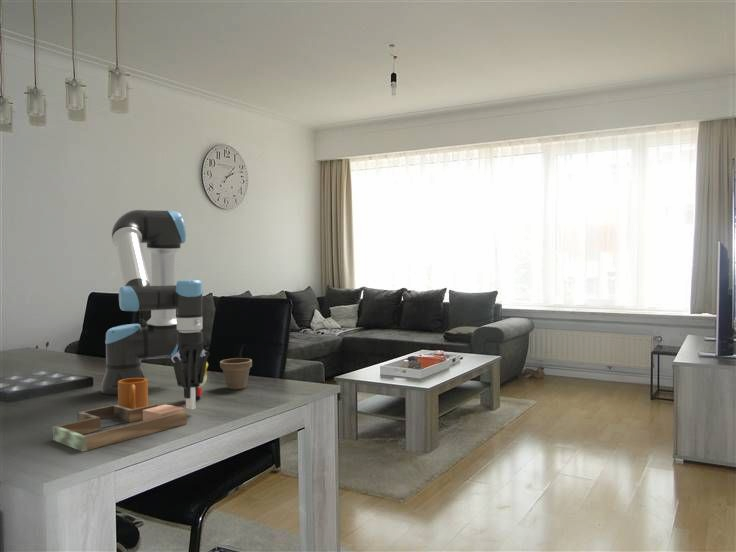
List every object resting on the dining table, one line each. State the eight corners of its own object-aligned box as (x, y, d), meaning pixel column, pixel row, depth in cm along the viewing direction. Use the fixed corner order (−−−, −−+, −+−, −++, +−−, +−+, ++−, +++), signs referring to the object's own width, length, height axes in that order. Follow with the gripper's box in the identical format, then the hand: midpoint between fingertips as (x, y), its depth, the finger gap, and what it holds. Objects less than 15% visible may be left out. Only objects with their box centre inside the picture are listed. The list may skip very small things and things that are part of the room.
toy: (189, 396, 203) (188, 353, 203) (210, 396, 204) (210, 352, 204) (184, 401, 196) (183, 356, 196) (206, 401, 197) (206, 356, 196)
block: (142, 423, 172) (142, 410, 172) (165, 417, 178) (165, 404, 178) (160, 428, 167) (160, 413, 167) (183, 421, 174) (183, 407, 174)
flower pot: (213, 389, 214) (213, 361, 214) (232, 383, 224) (231, 356, 224) (240, 392, 210) (240, 364, 209) (258, 385, 220) (258, 358, 220)
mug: (111, 415, 180) (110, 385, 180) (122, 406, 192) (121, 378, 192) (142, 413, 181) (141, 384, 181) (151, 404, 193) (150, 376, 193)
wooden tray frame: (37, 433, 161) (36, 420, 161) (139, 410, 185) (138, 399, 185) (82, 451, 146) (82, 437, 146) (186, 424, 170) (186, 411, 170)
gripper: (178, 334, 172) (179, 414, 173) (215, 329, 182) (216, 405, 183) (163, 332, 177) (164, 410, 177) (199, 327, 187) (200, 402, 188)
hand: (190, 408), depth 180 cm, fingers closed
